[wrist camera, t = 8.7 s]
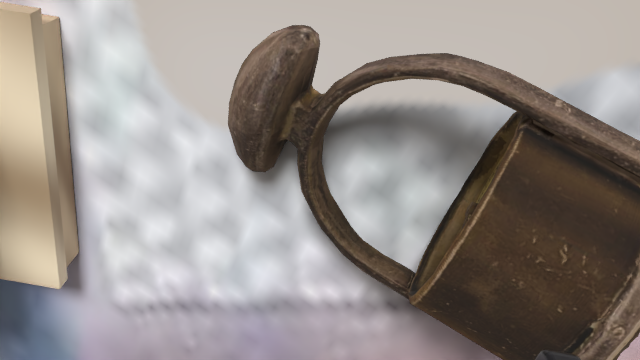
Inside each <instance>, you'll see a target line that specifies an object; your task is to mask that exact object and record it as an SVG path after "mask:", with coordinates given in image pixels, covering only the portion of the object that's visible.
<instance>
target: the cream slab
mask: <svg viewBox="0 0 640 360" xmlns="http://www.w3.org/2000/svg"><path fill="white" fill-rule="evenodd" d="M78 253H79V247H78V235H77V223H76V211H75V199H74V188H73V176H72V164H71V152H70V141H69V129H68V117H67V105H66V94H65V82H64V70H63V58H62V47H61V35H60V23H59V17H56V16H50V15H44V14H41V8H35V7H28V6H22V5H16V4H10V3H4V2H0V279H4V280H10V281H16V282H21V283H27V284H33V285H39V286H44V287H50V288H56V289H60V288H61V287H62V286H63V284H64V283H65V282H66V280H67V279H68V277H67V267H68V266H69V264H70V263H71V262H72V260H73V259H74V258H75V257H76V255H77V254H78Z"/></svg>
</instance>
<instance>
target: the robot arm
mask: <svg viewBox="0 0 640 360" xmlns="http://www.w3.org/2000/svg"><path fill="white" fill-rule="evenodd" d="M535 360H581V359H580V358H579V357H578V356H576V355H574V354H570V353H564V352H559V351H553V350H543V351H541V352H540V353H539V354H538V356H537V357H536V359H535Z"/></svg>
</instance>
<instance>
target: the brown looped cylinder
mask: <svg viewBox="0 0 640 360" xmlns="http://www.w3.org/2000/svg"><path fill="white" fill-rule="evenodd" d="M319 47H320V40H319V34H318V33H317V32H316V31H314V30H313V29H312V28H311V27H309V26H305V25H292V26H289V27H287V28H284V29H281V30H278V31H276V32H273V33H272V34H271V35H269V36H268V37H267V38H266V39H265V40H263V41H262V42H261V43H260V44H259V45H258V46H257V47H255V48H254V49H253V50H252V51H251V53H250V54H249V55H248V57H247V58H246V59H245V61H244V62H243V64H242V66H241V68H240V70H239V73H238V75H237V77H236V80H235V83H234V87H233V90H232V94H231V98H230V102H229V115H228V126H229V129H230V133H231V136H232V139H233V142H234V146H235V149H236V152H237V155H238V156H239V157H240V159H241V160H242V162H243V163H244V164H245V166H246V167H248V168H249V169H251V170H252V171H258V172H266V171H268V170H269V169H271V168H272V167H274V165H275V163H276V161H277V159H278V157H279V155H280V153H281V151H282V149H283V147H284V145H285V143H286V141H287V140H289V141H291V142H292V143H293V144H294V145H295V146H296V147H297V148H298V160H297V165H298V171H299V177H300V184H301V190H302V193H303V195H304V197H305V199H306V201H307V203H308V205H309V207H310V209H311V211H312V213H313V215H314V217H315V218H316V220H317V222H318V224H319V226H320V227H321V229H322V230H323V231H324V232H325V234H326V235H327V236H328V237H329V238H330V240H331V241H332V242H333V243H334V244H335V246H336V247H337V248H338V249H339V250H340V251H341V253H342V254H343V255H345V256H346V257H347V258H348V259H349V260H350V261H351V262H353V263H354V264H355V265H356V266H357V267H358V268H360V269H361V270H362V271H363V272H365V273H366V274H368V275H370V276H371V277H373V278H375V279H376V280H378V281H379V282H381V283H383V284H384V285H386V286H387V287H389V288H391V289H393V290H394V291H396V292H398V293H399V294H401V295H403V296H404V297H406V298H408V299H409V301H410V304H412V305H414V306H415V307H417V308H419V309H420V310H422V311H424V312H425V313H427V314H429V315H430V316H432V317H434V318H435V319H437V320H439V321H441V322H442V323H444V324H446V325H447V326H449V327H450V328H452V329H454V330H455V331H457V332H458V333H460V334H462V335H463V336H465V337H467V338H468V339H470V340H472V341H473V342H475V343H476V344H478V345H480V346H481V347H483V348H485V349H486V350H488V351H490V352H491V353H493V354H494V355H496V356H498V357H499V358H501V359H503V360H535V359H536V357H537V356H538V354H539V353H540V352H541V351H543V350H553V351H559V352H564V353H570V354H574V355H576V356H578V357H579V358H580V359H581V360H617V358H618V357H619V356H620V354H621V353H622V352H623V351H624V350H625V349H626V348H628V347H629V345H630V343H631V342H632V341H633V340H634V339H635V338H636V337H638V335H639V333H640V141H639V140H637V139H635V138H633V137H631V136H629V135H627V134H625V133H623V132H621V131H619V130H617V129H615V128H613V127H611V126H609V125H608V124H606V123H604V122H602V121H600V120H598V119H596V118H594V117H593V116H591V115H589V114H587V113H585V112H583V111H581V110H579V109H578V108H576V107H574V106H572V105H570V104H568V103H566V102H565V101H563V100H561V99H559V98H557V97H555V96H553V95H551V94H550V93H548V92H546V91H544V90H542V89H540V88H538V87H536V86H534V85H532V84H530V83H528V82H526V81H525V80H523V79H521V78H519V77H517V76H515V75H513V74H511V73H509V72H507V71H504V70H501V69H498V68H495V67H493V66H490V65H487V64H484V63H482V62H479V61H476V60H472V59H469V58H465V57H462V56H457V55H452V54H448V53H440V54H417V55H407V56H397V57H389V58H385V59H381V60H378V61H374V62H370V63H367V64H365V65H363V66H362V67H360V68H358V69H357V70H355V71H353V72H352V73H350V74H348V75H347V76H345V77H343V78H342V79H340V80H338V81H337V82H335V83H334V84H333V85H332V86H331V88H330V89H329V90H328V91H327V92H326V93H325V94H320V93H319V92H318V91H316V90H315V89H313V87H312V81H313V77H314V73H315V68H316V64H317V60H318V53H319ZM404 79H429V80H440V81H444V82H449V83H453V84H457V85H461V86H464V87H467V88H469V89H471V90H474V91H476V92H479V93H481V94H483V95H486V96H488V97H490V98H492V99H494V100H496V101H498V102H500V103H502V104H504V105H506V106H508V107H510V108H512V109H514V110H516V111H517V112H515V113H514V114H513V115H512V116H511V117H510V118H509V120H508V121H507V122H506V123H505V124H504V125H503V126H502V128H501V129H500V130H499V131H498V132H497V133H496V135H495V136H494V137H493V139H492V140H491V141H490V143H489V145H488V147H487V148H486V150H485V152H484V153H483V155H482V157H481V158H480V160H479V162H478V163H477V165H476V166H475V168H474V169H473V171H472V172H471V174H470V176H469V177H468V179H467V180H466V182H465V183H464V185H463V187H462V189H461V191H460V192H459V194H458V196H457V197H456V199H455V200H454V202H453V203H452V205H451V206H450V208H449V210H448V211H447V213H446V215H445V216H444V218H443V220H442V221H441V223H440V225H439V227H438V228H437V230H436V232H435V234H434V236H433V238H432V240H431V242H430V243H429V245H428V247H427V249H426V251H425V253H424V255H423V257H422V259H421V261H420V264H419V266H418V269H417V272H416V273H414V272H413V271H411V270H410V269H408V268H407V267H405V266H403V265H401V264H400V263H398V262H396V261H394V260H392V259H391V258H389V257H387V256H385V255H383V254H382V253H380V252H379V251H378V250H376V249H375V248H373V247H372V246H371V245H369V244H368V243H366V242H365V241H363V240H362V239H361V238H360V237H359V235H358V234H357V233H356V232H355V231H354V229H353V228H352V227H351V226H350V224H349V223H348V221H347V219H346V218H345V216H344V215H343V213H342V211H341V210H340V208H339V206H338V205H337V203H336V202H335V200H334V198H333V197H332V195H331V193H330V191H329V188H328V185H327V182H326V179H325V175H324V170H323V166H322V149H323V137H324V135H325V132H326V130H327V127H328V125H329V122H330V120H331V118H332V117H333V115H334V114H335V112H336V111H337V109H338V107H339V106H340V105H341V104H342V103H343V102H344V101H346V100H347V99H348V98H349V97H351V96H352V95H354V94H356V93H358V92H360V91H362V90H364V89H366V88H368V87H370V86H372V85H375V84H379V83H383V82H389V81H396V80H404Z"/></svg>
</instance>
